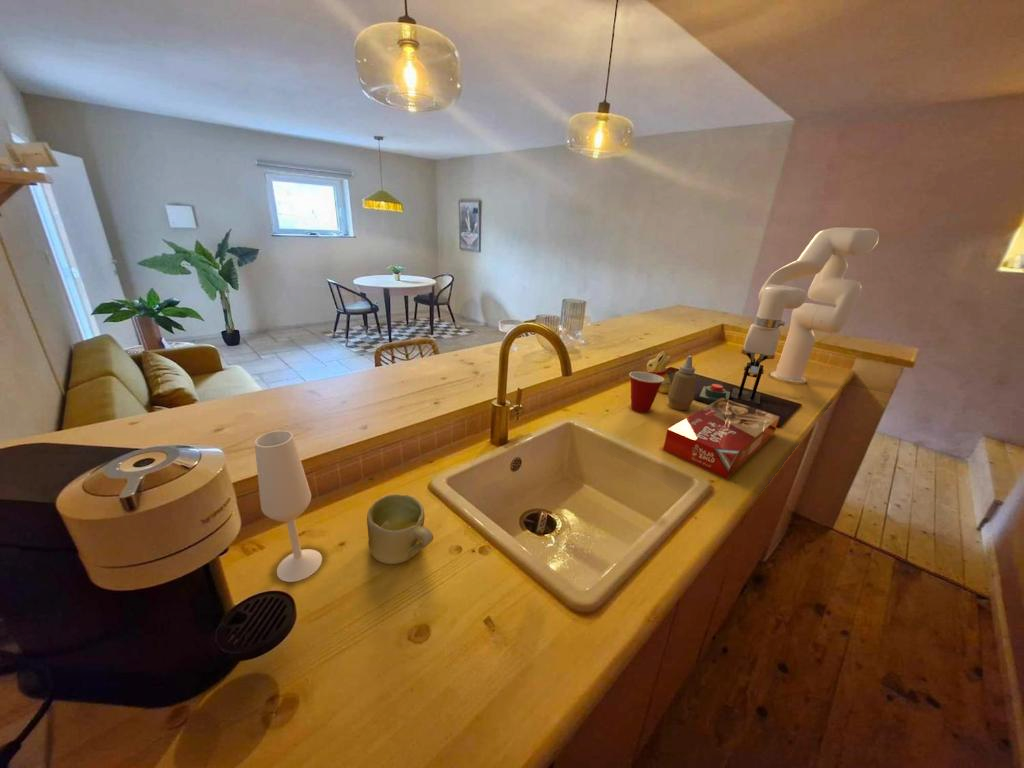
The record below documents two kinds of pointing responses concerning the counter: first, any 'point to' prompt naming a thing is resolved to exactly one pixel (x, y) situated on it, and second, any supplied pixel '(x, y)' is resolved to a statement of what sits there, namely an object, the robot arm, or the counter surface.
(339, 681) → the counter surface
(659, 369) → the chocolate bunny
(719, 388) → the button
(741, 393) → the bracket
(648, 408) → the plastic cup
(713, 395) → the button housing
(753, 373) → the lever
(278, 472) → the champagne flute
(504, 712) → the counter surface
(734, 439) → the food box
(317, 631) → the counter surface
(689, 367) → the squeeze bottle
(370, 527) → the mug
